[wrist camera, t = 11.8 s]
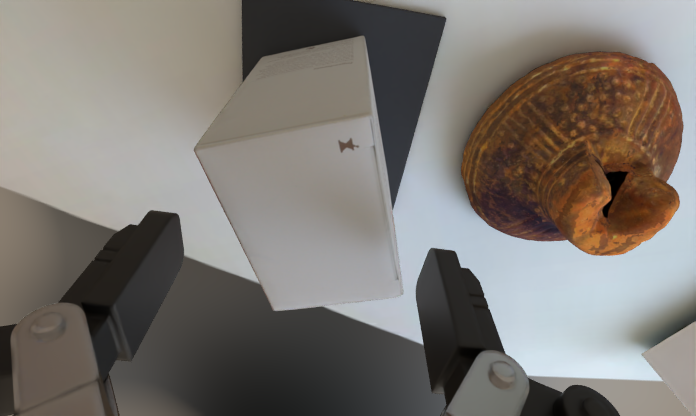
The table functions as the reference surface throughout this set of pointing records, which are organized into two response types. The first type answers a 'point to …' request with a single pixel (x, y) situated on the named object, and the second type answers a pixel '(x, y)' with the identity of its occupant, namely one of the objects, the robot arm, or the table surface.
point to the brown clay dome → (579, 154)
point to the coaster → (382, 47)
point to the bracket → (677, 364)
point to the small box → (307, 178)
